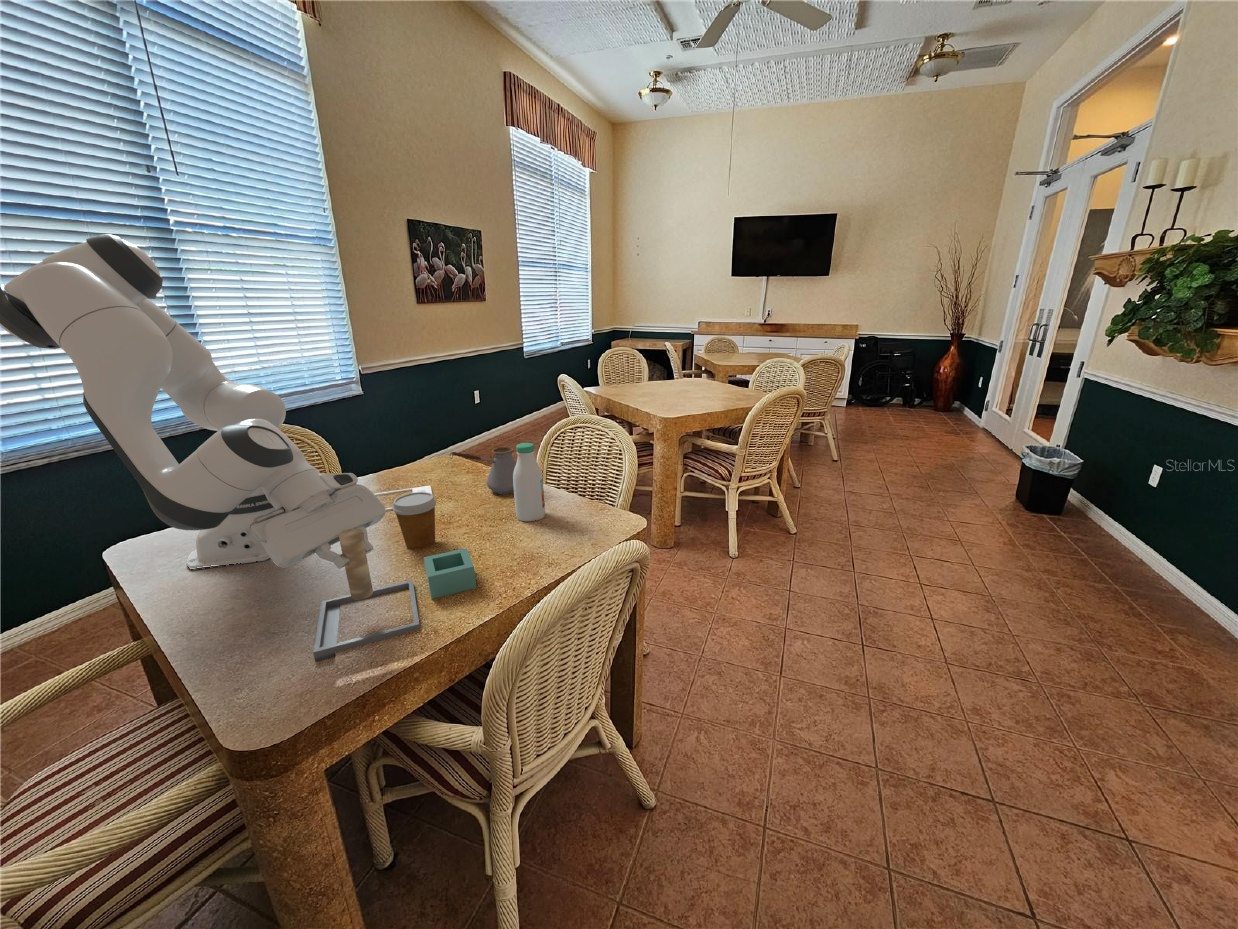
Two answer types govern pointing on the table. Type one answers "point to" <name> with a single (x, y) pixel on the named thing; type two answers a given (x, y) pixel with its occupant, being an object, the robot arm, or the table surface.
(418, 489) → the photo frame
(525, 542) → the table surface
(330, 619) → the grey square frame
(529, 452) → the milk bottle
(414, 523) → the disposable coffee cup
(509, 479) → the coffee pot
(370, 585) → the wooden dowel
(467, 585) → the ceramic holder
